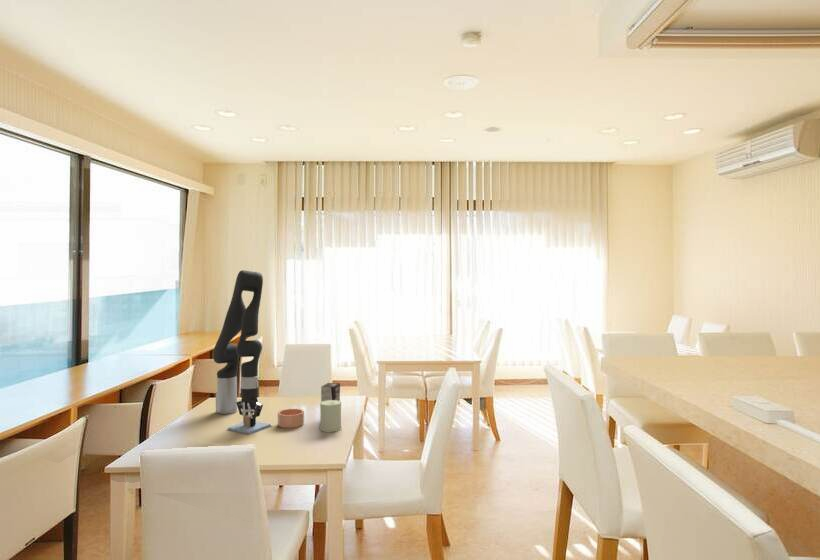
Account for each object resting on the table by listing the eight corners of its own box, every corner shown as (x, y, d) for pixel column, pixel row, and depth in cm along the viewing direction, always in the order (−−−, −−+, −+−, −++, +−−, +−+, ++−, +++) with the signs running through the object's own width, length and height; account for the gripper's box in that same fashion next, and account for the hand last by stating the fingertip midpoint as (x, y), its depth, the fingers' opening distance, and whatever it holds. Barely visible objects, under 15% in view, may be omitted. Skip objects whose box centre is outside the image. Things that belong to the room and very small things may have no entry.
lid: (228, 429, 222) (228, 417, 221) (249, 422, 233) (249, 410, 232) (249, 434, 216) (249, 421, 216) (270, 426, 227) (270, 413, 227)
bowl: (272, 426, 227) (272, 413, 227) (289, 420, 237) (289, 407, 237) (292, 430, 222) (292, 416, 222) (308, 423, 232) (308, 410, 231)
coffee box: (333, 422, 234) (333, 387, 234) (320, 421, 236) (320, 386, 235) (340, 416, 243) (340, 382, 243) (327, 416, 244) (327, 382, 244)
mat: (225, 430, 221) (225, 429, 221) (249, 422, 234) (249, 421, 234) (249, 435, 215) (249, 434, 215) (273, 426, 227) (273, 426, 227)
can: (323, 433, 218) (323, 405, 218) (317, 427, 227) (317, 400, 226) (344, 430, 223) (344, 402, 222) (337, 424, 231) (337, 398, 231)
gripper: (231, 386, 224) (231, 425, 224) (255, 389, 217) (255, 430, 217) (244, 382, 230) (244, 421, 231) (267, 386, 224) (267, 425, 224)
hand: (249, 425), depth 224 cm, fingers closed on lid, 3 cm apart
